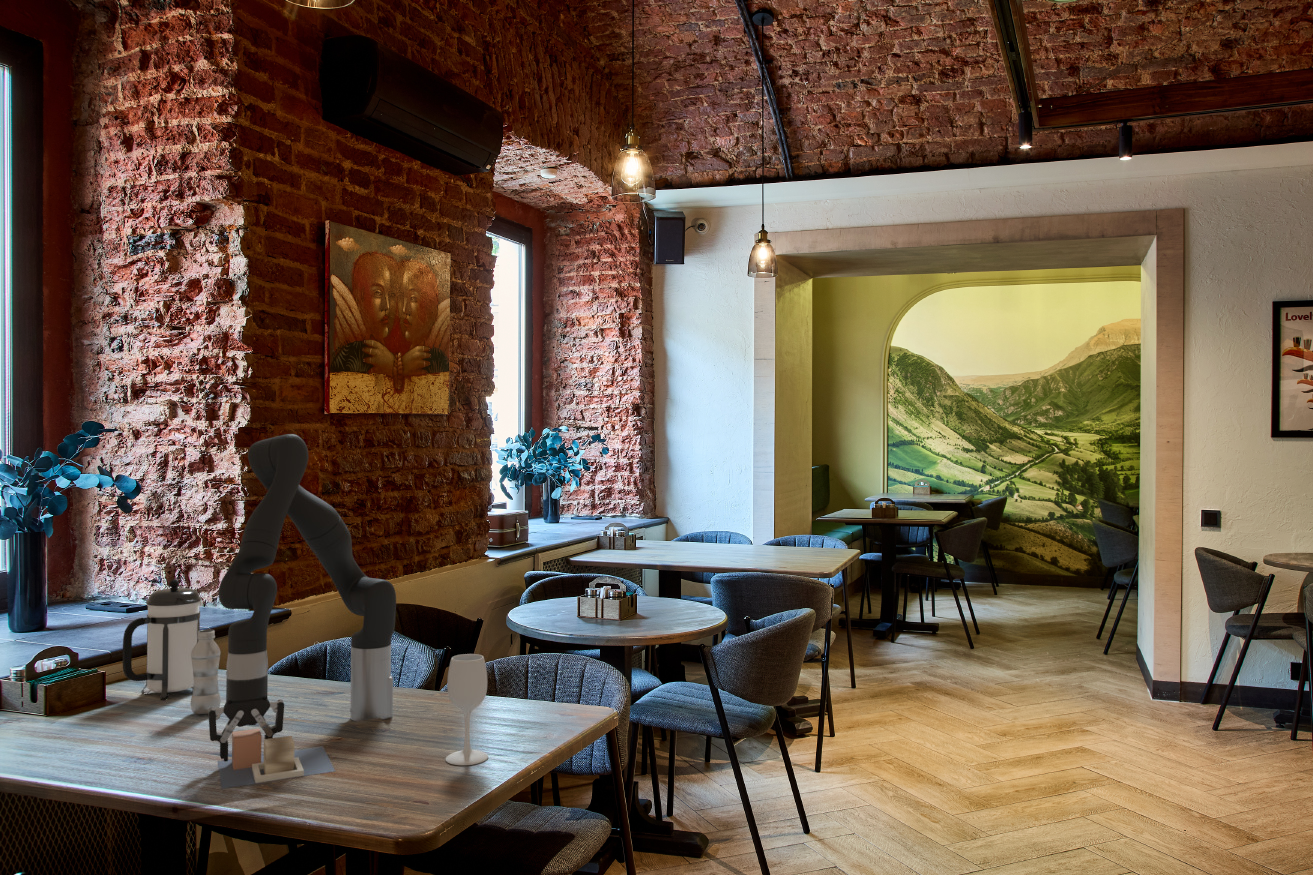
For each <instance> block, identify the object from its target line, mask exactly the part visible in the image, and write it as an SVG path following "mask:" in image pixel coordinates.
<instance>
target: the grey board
mask: <svg viewBox="0 0 1313 875" xmlns="http://www.w3.org/2000/svg"><path fill="white" fill-rule="evenodd" d="M217 765H218V766H217V767H218V773H219V781H220V787H221V790H223V789H231V788H236V787H237V788H238V787H242V786H249V785H250V786H251V785H258V784H263V783H264V784H265V783H269V782H275V781H281V780H288V779H296V778H301V777H302V778H303V777H307V776H316V775H319V774H320V775H321V774H328V773H333V772H336V770H335V768H334V765H333V764H332V762H331V760H330V758H329V756H328V754H327V751H326V750H325V748H324V746H316V747H315V746H314V747H310V748H309V747H308V748H302V749H301V748H300V749H294V770H292V771H285V772H278V773H272V774H264V754H261V763H256V764H252V767H250V768H243V769H236V770H233V765H232V758H230V759H229V758H228V761H225V762H224V759H221V760H218V761H217Z"/></svg>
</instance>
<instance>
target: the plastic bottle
mask: <svg viewBox="0 0 1313 875" xmlns="http://www.w3.org/2000/svg"><path fill="white" fill-rule="evenodd" d="M215 632H216V631H215V630H214V629H202V630H201V629H200V631H198V637H197V639H198V640H199V641H198V643H197V644H196V645H195V646H194V648H193V649H192V652H191V658H192V666H193V675H194V677H193V679H194V682H193V689H192V695H191V698H190V704H189V705H190V711H191V712H192V713H193V714H197V715H209V712H208V711H209V709H210V708H221V702H222V700H221V695H220V692H219V691H220V690H219V665H220V660H221V648H220V647H219V644H217V642H216V641H215V640H214V639H215V638H216V635H215Z"/></svg>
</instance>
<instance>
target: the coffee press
mask: <svg viewBox="0 0 1313 875" xmlns="http://www.w3.org/2000/svg"><path fill="white" fill-rule="evenodd" d="M179 585H180V582H179V580H177V579H172V580H170V581H169V586H170V588H163V589H159V590H158V589H157V590H156V591H154V592H152V593H151V594H150V595H149V597H148V599H147V600H145V601H146V602H145V604H146V606H147V614H146V617H138V618H136V619H134V620H132V621H131V622H130V623H129V624H127V626H126V628H125V631H124V633H123V636H122V637H123V639H122V670H123V674H124V675H125V677H126V678H127V679H128V680H130V681H133V682H144V681H146V683H145V686H144V687H143V689H142V690H141V695H143V694H144V693H147V694H146V695H148V694H149V693H150V692H154V693H159V694H160V701H167V700H168V698H169V695H170V694H171V693H174V692H181V691H186V690H189V689H192V690H193V682H194V679H193V677H194V675H193V666H192V658H191V652H192V649H193V648H194V646H195V645H196V644H197V643H198V641H199V640H198V639H197V637H198V631H201V628H200V626H201V621H200V620H201V611H200V607H203V606H204V603H203V601H202V597H201V596H200V594H199V592H198V591H197V590H195V589H193V588H188V587H187V588H186V587H179ZM146 624H147V628H146V637H147V639H146V670H145V672H146V673H145V672H144V673H140V674H139V673H138V674H136V673H135V672H134V671H133V668H132V661H133V660H132V652H133V650H132V648H133V646H132V645H133V644H132V643H133V634H134V632H135V631H136V629H137V628H139V627H140V626H143V625H146ZM146 688H147V689H148V690H149V691H148V692H145V689H146ZM166 699H167V700H166Z"/></svg>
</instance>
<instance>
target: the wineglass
mask: <svg viewBox="0 0 1313 875" xmlns="http://www.w3.org/2000/svg"><path fill="white" fill-rule="evenodd" d="M446 682H447V683H446V684H447V695H448V698H449V701H450V703H451V704H452V705H453V706H454V707H455V708H457V709H459V710H460V711H461V712H463V717H464V742H463V748H462V750H458V751H454V752H452V753H450V754H449V755H447V756H446V757H445V762H446V763H448V764H450V765H453V766H471V765H478V764H481V763H483V762H486V761H487V760H488V759H489V755H488V754H487V753H486V752H484V751H482V750H479V749H478V750H477V749H472V748H471V739H470V738H471V737H470V736H471V735H470V722H471V714H472V712H473V710H475V709H476V708H478V707H479V706H480V705H481V704H482V703H483V701H484V700H485V698H486V695H487V691H488V672H487V666H486V661H485V658H484V655H481V654H478V653H477V654H475V653H467V654H466V653H465V654H464V653H463V654H457V655H454V656H452V657H451V659H450V662H449V668H448V672H447V681H446Z"/></svg>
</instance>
